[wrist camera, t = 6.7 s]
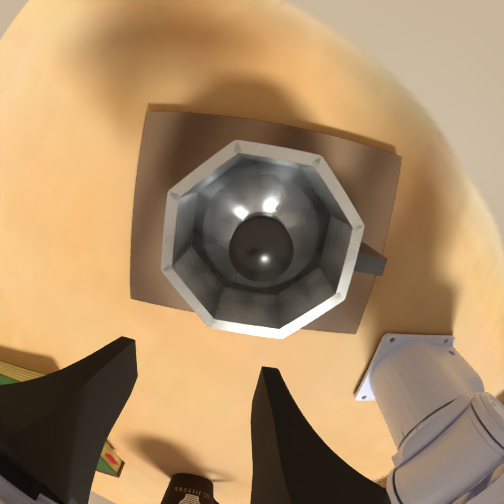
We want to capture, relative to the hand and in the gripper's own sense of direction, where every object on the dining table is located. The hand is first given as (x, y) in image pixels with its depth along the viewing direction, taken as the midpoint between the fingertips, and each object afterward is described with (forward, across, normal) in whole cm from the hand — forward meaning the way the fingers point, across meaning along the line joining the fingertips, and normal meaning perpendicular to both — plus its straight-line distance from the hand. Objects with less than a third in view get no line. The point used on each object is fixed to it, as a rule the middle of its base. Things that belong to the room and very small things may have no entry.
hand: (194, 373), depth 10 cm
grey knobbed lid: (+9, -2, -4) cm, 10 cm away
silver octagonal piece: (+10, -2, -4) cm, 11 cm away
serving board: (+10, -2, -4) cm, 11 cm away
